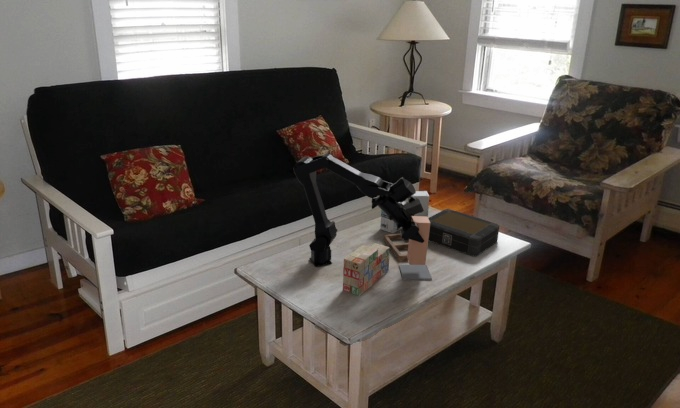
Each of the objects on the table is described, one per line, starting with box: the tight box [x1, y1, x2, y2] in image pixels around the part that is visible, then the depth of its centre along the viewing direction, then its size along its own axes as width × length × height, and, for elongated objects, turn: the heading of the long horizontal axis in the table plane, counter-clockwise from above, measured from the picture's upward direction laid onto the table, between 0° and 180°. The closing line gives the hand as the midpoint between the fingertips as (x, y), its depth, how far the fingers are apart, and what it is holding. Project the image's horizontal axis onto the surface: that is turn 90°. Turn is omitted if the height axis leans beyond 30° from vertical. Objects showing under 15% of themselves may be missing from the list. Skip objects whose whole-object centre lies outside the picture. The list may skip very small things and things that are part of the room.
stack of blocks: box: [342, 242, 391, 297], centre depth 192 cm, size 21×6×12 cm, turn 148°
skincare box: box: [412, 190, 430, 218], centre depth 235 cm, size 8×6×15 cm
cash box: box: [428, 208, 500, 257], centre depth 225 cm, size 25×20×8 cm
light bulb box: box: [380, 201, 407, 234], centre depth 234 cm, size 11×7×11 cm, turn 143°
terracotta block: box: [406, 216, 430, 265], centre depth 196 cm, size 6×6×16 cm
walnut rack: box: [382, 233, 409, 262], centre depth 217 cm, size 10×19×2 cm, turn 14°
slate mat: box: [398, 264, 433, 281], centre depth 200 cm, size 10×10×1 cm
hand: (421, 238), depth 196 cm, fingers closed on terracotta block, 5 cm apart
